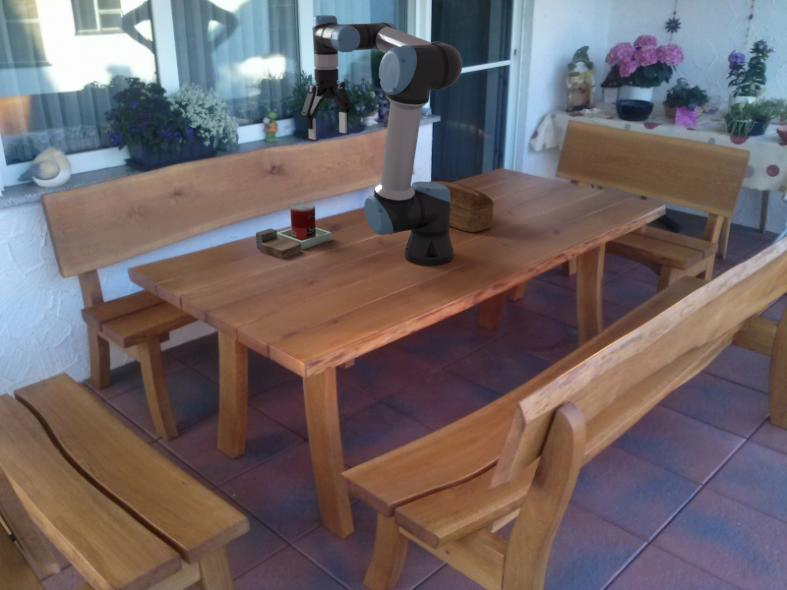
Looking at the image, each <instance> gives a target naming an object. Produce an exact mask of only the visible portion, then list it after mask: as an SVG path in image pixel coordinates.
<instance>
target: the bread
mask: <svg viewBox="0 0 787 590" xmlns="http://www.w3.org/2000/svg"><path fill="white" fill-rule="evenodd" d="M429 182H433V183H438V184H441V185H444V186H446V187H448V188H449V190H450V200H451V202H450V219H449V227H453V228H456V229H458V230H461V231H465V232H468V233H469V232H470V233H476V232H477V233H478V232H481V231H484V230H487V229H488V228H490V227H491V226H492V225H493V219H494V218H493V216H494V210H493V209H494V206H495V205H494V202H493V199H491V198H490V197H489V196H488V195H487V194H485V193H483V192H481V191H479V190H477V189H474V188H473V187H470V186H466V185H465V184H461V183H456V182H450V181H444V180H443V181H440V180H431V181H430V180H429Z"/></svg>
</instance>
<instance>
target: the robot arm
mask: <svg viewBox="0 0 787 590" xmlns="http://www.w3.org/2000/svg"><path fill="white" fill-rule="evenodd" d="M312 41H313V45H312V47H313V66H314V67H315V69H313V70H314V72H313V74H314V81H315V85H308V86H307V94H306V97H305V101H304V104H303V106H302V111H301V114H300V116H301V117H302V118H304V119H306V128H307V129H308V139H309V140H315V141H316V140H317V123H316V118H314V117H315V116H316V114H317V111H319V108H320V106H321V104H322V103H323V101H325V100H327V99H332V100H333V102H334V103H335V104H336V106H337V108H338V109H339V111H340V112H338V121H339V124H338V125H339V127H338V128H339V129H338V130H339V133H341V134H347V132H348V131H347V130H348V127H347V125H348V124H347V123H348V120H349V119H348V117H349V116H348V113H349V114H350V113H351V111H352V110H353V105H352V103H351V101H350V97H349V94H348V92H347V90H346V83H345V82H344V81H339V69H338V67H339V52H340V53H352V52H354V51H367V50H376V51H379V52H381V53H384V55H383V56H382V59H381V60H380V64H379V68H378V70H379V71H378V78H379V80H380V81H379V84H380V87H381V88H382V90H383V92H385V97H386V98H387V99H388V101H389V103H390V105H389V111H388V121H387V127H386V128H387V129H386V136H385V137H386V138H385V143H384V144H385V145H384V154H383V161H382V168H381V169H382V170H381V176H380V181H379V182H378V183H376V185H375V186H374V189H373V195H369V196H368V197H367V198H366V199H365V201H364V205H363V209H364V211H363V212H364V215H365V219H366V222H367V223H368V225H369V227H370V229H371V230H372V231H373V232H374V233H375V234H376V235H378V236H385V235H389V236H390V235H391V236H392V235H394V234H397V233H403V232H407V231H410V235H409V237H408V240H407V243H406V246H405V248H404V259H405V260H406V261H408V262H409V263H412V264H415V265H419V266H431V267H432V266H434V267H435V266H442V265H446V264H449V263H451V262H453V260H454V259H455V258H454V256H455V251H454V248H453V243H452V240H451V236H450V226H449V219H450V202H451V200H450V190H449V188H448V187H446V186H444V185H441V184H438V183H433V182H430V181H414V182H412V181H413V180H412V179H413V172H414V166H415V158H416V151H417V144H418V139H419V131H420V125H421V118H422V111H423V107H424V106H425V105H427V104H428V103H429V101H430V95H431V91H439V90H444V89H447V88H449V87H451V86H452V85H453V84H455V83H456V82H457V80H458V79H459V78H460V76H461V73H462V71H463V59H462V56H461V54H460V52H459V51H458V49H456V47H454V46H453V45H451V44H448V43H445V42H443V41H438V40H437V41H432V42H431V41H428V40H426V39H423V38H420V37H418V36H414V35H412V34H409V33H407V32H404V31H401V30H398V28H397V27H396V25H395V24H394V23H391V22H384V21H383V22H373V23H349V24H348V23H347V24H345V23H338V17H337V16H336V15H332V14H331V15H330V14H328V15H327V14H326V15H325V14H322V15H321V14H319V15H315V16H314V17H312Z"/></svg>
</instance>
